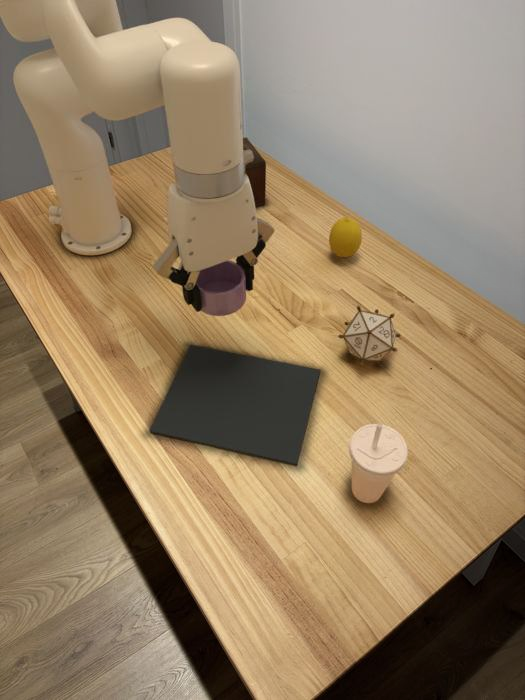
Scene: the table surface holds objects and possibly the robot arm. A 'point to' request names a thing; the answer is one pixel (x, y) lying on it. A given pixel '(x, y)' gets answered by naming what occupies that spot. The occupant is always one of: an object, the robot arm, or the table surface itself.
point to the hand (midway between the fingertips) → (220, 294)
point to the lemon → (345, 237)
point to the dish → (222, 288)
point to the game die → (370, 336)
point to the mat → (239, 404)
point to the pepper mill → (256, 174)
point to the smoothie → (375, 460)
